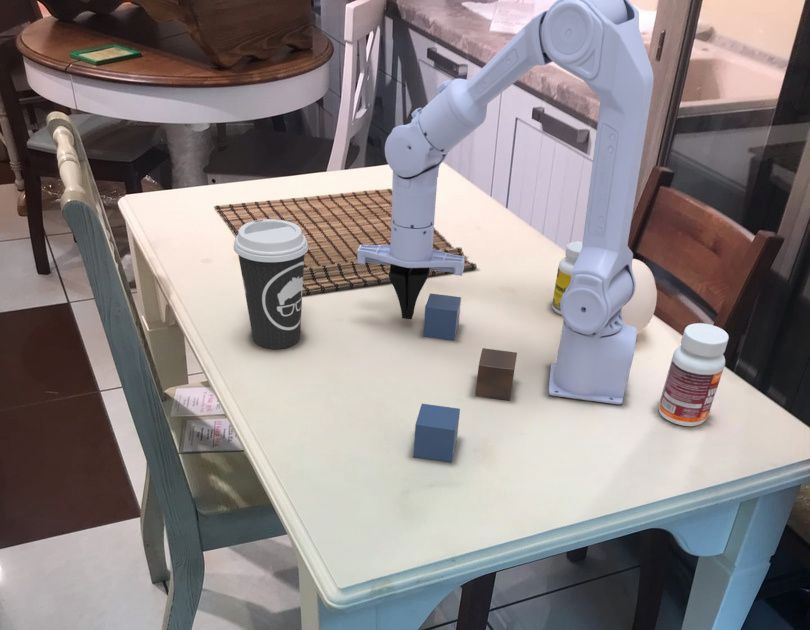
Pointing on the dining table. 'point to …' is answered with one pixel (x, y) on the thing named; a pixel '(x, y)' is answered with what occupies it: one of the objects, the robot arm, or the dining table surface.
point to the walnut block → (495, 374)
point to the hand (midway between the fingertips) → (407, 316)
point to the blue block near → (436, 432)
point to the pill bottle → (694, 375)
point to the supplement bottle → (565, 273)
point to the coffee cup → (272, 279)
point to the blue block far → (442, 316)
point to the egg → (641, 298)
